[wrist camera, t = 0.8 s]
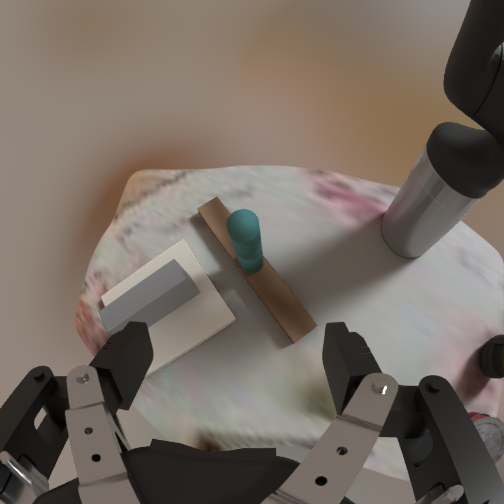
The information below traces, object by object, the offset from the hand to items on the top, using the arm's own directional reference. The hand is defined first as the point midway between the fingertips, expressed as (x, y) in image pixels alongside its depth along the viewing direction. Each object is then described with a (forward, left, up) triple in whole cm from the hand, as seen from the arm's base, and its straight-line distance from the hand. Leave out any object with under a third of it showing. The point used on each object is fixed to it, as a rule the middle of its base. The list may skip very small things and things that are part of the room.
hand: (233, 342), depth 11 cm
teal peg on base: (-6, -11, -25) cm, 28 cm away
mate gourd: (-28, +26, -25) cm, 46 cm away
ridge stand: (+8, -13, -24) cm, 29 cm away
